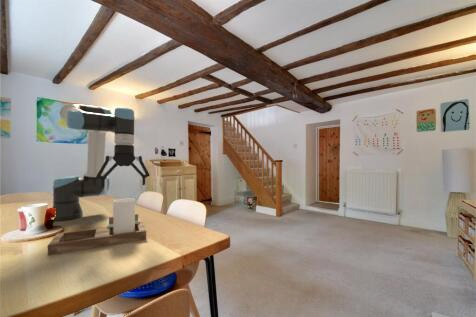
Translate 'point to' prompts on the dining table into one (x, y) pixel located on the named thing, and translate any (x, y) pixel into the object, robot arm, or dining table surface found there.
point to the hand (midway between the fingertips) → (124, 193)
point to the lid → (110, 221)
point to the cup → (123, 215)
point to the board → (93, 239)
